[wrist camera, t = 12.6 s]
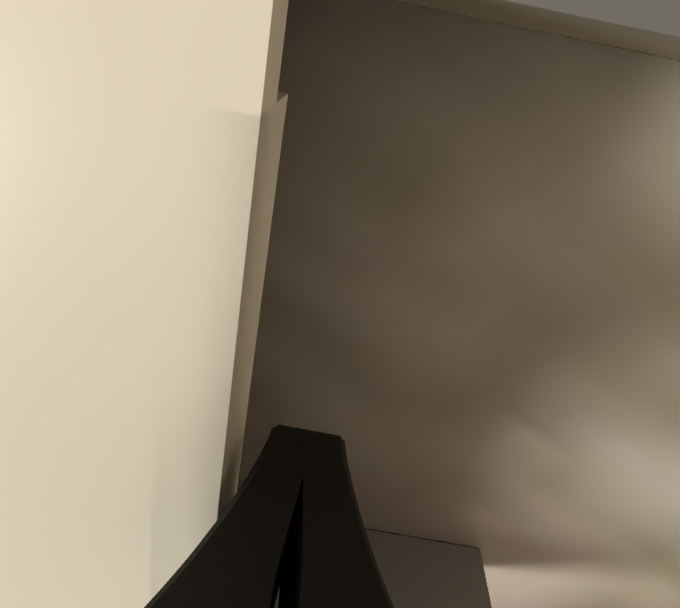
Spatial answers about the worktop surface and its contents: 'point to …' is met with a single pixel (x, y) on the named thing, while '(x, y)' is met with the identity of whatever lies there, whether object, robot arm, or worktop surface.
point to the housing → (570, 21)
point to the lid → (128, 282)
